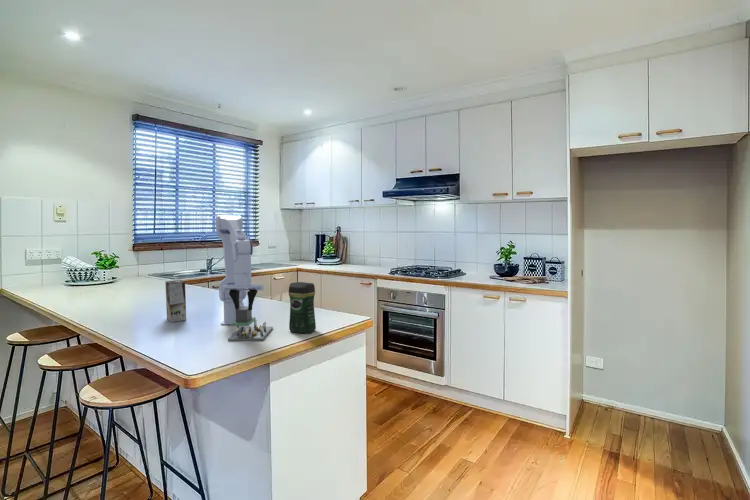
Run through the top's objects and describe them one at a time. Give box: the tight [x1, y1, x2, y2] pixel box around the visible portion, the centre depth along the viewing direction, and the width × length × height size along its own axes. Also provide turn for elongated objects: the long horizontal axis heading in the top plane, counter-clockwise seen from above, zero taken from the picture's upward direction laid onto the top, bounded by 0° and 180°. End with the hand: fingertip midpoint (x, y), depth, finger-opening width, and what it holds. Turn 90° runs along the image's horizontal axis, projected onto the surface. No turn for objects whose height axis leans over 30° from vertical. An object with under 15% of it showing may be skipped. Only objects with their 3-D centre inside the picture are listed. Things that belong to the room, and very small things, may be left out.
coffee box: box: [165, 279, 187, 323], centre depth 171 cm, size 9×6×16 cm
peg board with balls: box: [227, 319, 274, 342], centre depth 148 cm, size 16×12×4 cm
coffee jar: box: [288, 281, 317, 334], centre depth 152 cm, size 10×8×19 cm
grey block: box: [231, 305, 257, 327], centre depth 148 cm, size 9×6×6 cm, turn 2°
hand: (243, 310), depth 148 cm, fingers closed on grey block, 4 cm apart
